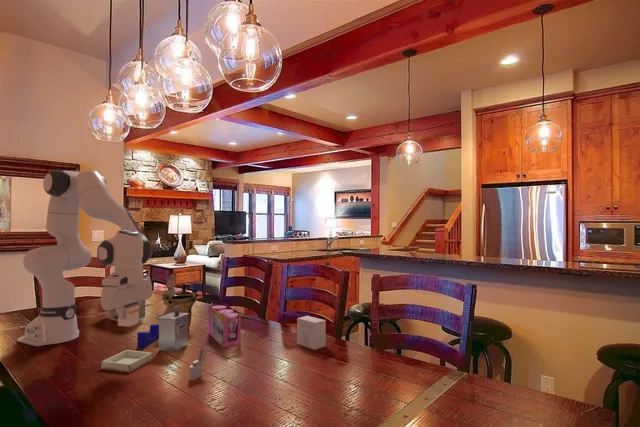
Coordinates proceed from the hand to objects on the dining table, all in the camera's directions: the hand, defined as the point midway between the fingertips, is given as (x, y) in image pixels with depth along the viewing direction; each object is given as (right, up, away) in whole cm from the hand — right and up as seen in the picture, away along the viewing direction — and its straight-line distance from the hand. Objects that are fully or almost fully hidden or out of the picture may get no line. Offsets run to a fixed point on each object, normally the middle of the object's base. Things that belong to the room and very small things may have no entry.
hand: (128, 316), depth 129 cm
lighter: (+27, -17, -10) cm, 34 cm away
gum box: (+26, -17, +26) cm, 41 cm away
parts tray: (0, -16, 0) cm, 16 cm away
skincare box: (+63, -17, +20) cm, 68 cm away
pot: (+3, -17, +39) cm, 43 cm away
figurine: (-14, -18, +71) cm, 74 cm away
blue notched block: (-4, -17, +22) cm, 28 cm away
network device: (-31, -17, +57) cm, 67 cm away
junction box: (+9, -17, +16) cm, 25 cm away
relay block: (0, -3, 0) cm, 3 cm away
